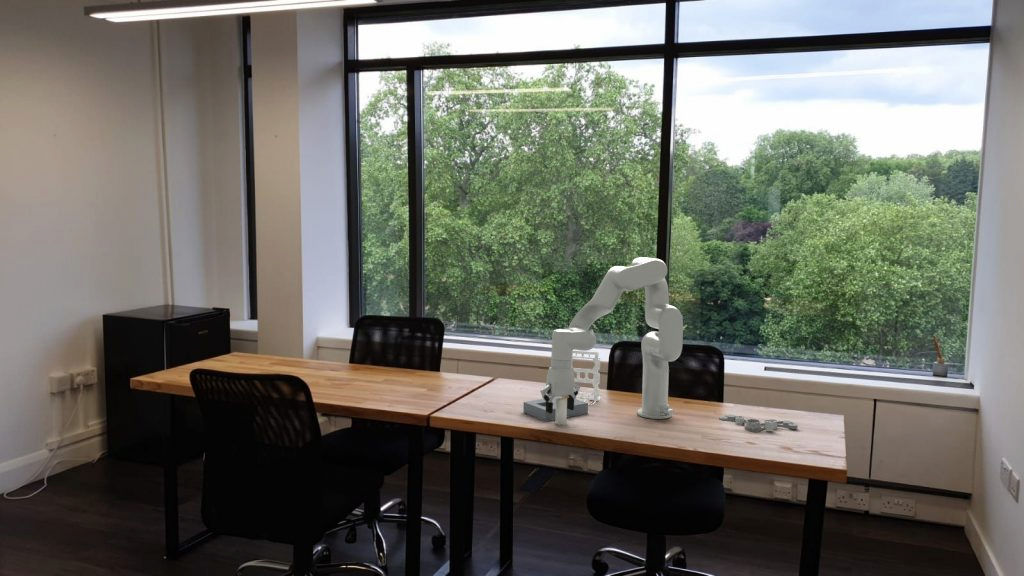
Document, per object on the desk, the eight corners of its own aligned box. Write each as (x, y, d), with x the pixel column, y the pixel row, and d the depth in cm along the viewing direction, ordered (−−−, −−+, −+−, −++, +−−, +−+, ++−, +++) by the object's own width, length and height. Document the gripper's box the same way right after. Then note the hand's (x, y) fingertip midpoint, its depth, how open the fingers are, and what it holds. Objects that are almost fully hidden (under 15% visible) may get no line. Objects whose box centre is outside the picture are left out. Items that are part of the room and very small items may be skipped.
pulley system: (793, 440, 243) (799, 427, 256) (793, 427, 242) (799, 414, 255) (712, 431, 256) (721, 418, 269) (712, 418, 256) (721, 406, 269)
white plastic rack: (559, 402, 286) (560, 353, 284) (568, 394, 299) (569, 347, 297) (595, 406, 282) (596, 356, 280) (602, 398, 295) (603, 350, 293)
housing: (587, 413, 270) (588, 402, 270) (545, 421, 259) (545, 410, 259) (564, 405, 282) (564, 395, 281) (523, 412, 270) (523, 401, 270)
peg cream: (568, 423, 256) (569, 399, 255) (559, 425, 254) (560, 400, 253) (561, 421, 259) (562, 396, 258) (553, 422, 257) (553, 398, 256)
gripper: (573, 360, 262) (571, 405, 264) (535, 364, 253) (534, 411, 254) (587, 363, 256) (585, 410, 258) (548, 367, 246) (546, 416, 248)
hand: (559, 410), depth 256 cm, fingers open, 9 cm apart
